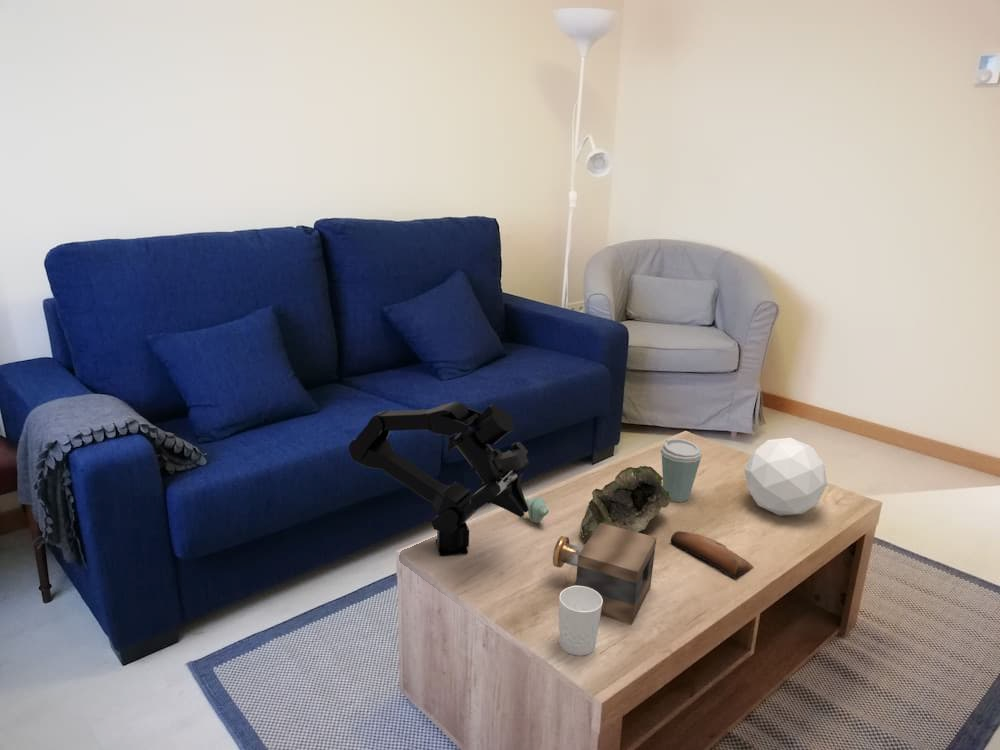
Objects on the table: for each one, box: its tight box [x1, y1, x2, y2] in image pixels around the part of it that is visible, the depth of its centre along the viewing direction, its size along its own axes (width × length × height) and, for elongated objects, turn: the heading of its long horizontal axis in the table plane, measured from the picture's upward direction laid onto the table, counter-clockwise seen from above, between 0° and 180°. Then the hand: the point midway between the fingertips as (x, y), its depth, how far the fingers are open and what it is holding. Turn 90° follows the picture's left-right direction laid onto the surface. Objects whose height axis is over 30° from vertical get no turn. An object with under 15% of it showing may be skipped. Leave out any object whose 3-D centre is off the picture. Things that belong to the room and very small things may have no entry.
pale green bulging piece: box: [525, 495, 549, 524], centre depth 177 cm, size 8×4×7 cm, turn 43°
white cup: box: [558, 585, 603, 657], centre depth 135 cm, size 8×8×10 cm
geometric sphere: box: [743, 437, 828, 517], centre depth 186 cm, size 19×20×20 cm
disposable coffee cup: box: [659, 437, 703, 503], centre depth 191 cm, size 11×11×15 cm
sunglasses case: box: [670, 530, 755, 580], centre depth 166 cm, size 18×7×7 cm
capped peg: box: [552, 535, 583, 569], centre depth 151 cm, size 12×6×6 cm, turn 65°
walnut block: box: [575, 523, 657, 626], centre depth 149 cm, size 12×14×12 cm
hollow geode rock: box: [580, 465, 671, 543], centre depth 177 cm, size 28×13×15 cm
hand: (524, 513), depth 155 cm, fingers closed
